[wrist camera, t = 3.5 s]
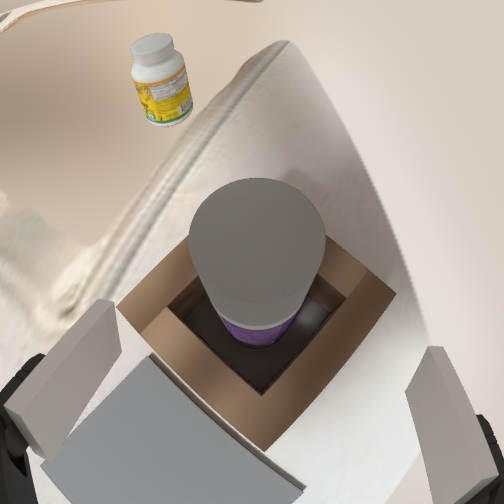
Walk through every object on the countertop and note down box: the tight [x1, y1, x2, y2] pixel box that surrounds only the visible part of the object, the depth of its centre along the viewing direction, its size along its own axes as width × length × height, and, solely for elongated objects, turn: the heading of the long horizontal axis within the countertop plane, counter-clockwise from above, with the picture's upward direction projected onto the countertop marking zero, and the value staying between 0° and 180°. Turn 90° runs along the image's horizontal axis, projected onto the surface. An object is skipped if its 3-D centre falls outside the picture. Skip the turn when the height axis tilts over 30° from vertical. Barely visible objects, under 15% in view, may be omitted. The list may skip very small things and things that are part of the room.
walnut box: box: [116, 235, 397, 452], centre depth 22 cm, size 13×13×5 cm
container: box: [189, 178, 326, 348], centre depth 17 cm, size 5×5×15 cm
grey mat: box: [40, 356, 304, 504], centre depth 19 cm, size 16×16×1 cm
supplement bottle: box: [131, 33, 193, 127], centre depth 28 cm, size 5×5×10 cm
